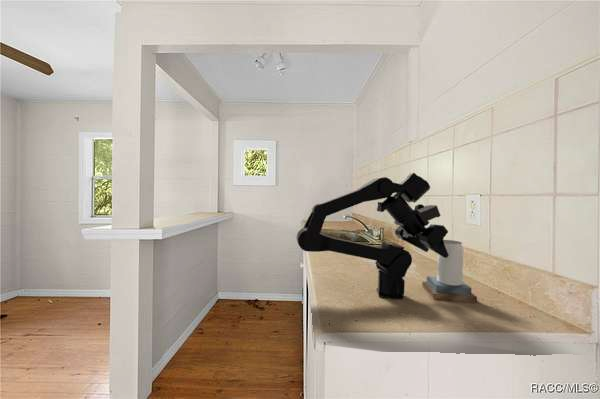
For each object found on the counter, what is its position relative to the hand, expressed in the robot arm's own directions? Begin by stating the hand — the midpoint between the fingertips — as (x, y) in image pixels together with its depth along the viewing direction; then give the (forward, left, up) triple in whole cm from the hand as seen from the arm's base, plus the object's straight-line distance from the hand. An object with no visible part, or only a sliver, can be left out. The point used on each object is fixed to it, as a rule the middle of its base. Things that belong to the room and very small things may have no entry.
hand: (436, 253), depth 79 cm
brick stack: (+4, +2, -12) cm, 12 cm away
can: (+4, 0, -8) cm, 9 cm away
